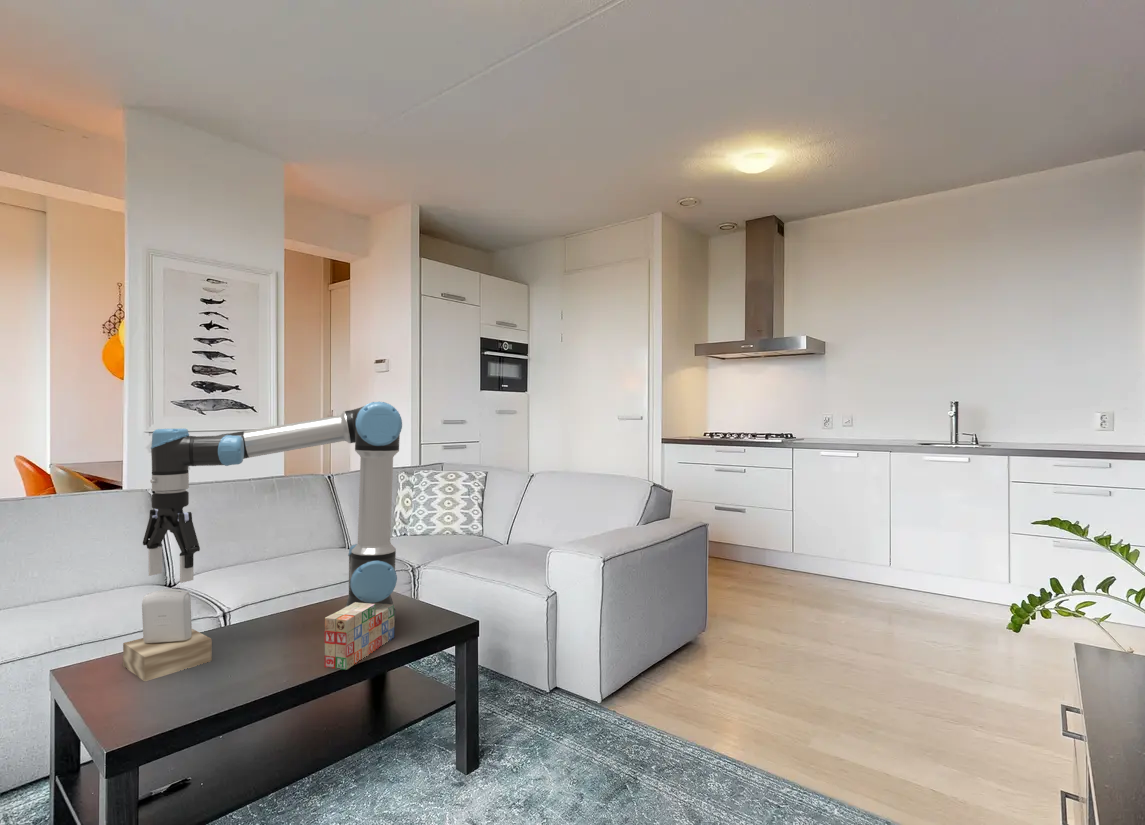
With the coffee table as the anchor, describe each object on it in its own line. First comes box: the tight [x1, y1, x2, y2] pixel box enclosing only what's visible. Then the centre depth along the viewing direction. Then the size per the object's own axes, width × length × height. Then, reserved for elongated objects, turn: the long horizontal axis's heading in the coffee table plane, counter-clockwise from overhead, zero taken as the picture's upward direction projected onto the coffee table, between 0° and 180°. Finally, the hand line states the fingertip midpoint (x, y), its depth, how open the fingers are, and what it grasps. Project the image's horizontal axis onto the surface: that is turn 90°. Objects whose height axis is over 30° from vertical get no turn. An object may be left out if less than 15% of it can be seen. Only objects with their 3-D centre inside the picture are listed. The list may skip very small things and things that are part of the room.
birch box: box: [122, 628, 213, 682], centre depth 144 cm, size 14×14×6 cm
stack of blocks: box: [323, 602, 395, 671], centre depth 152 cm, size 21×6×12 cm, turn 166°
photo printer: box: [141, 588, 193, 643], centre depth 144 cm, size 10×4×12 cm, turn 99°
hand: (170, 577), depth 144 cm, fingers open, 13 cm apart
